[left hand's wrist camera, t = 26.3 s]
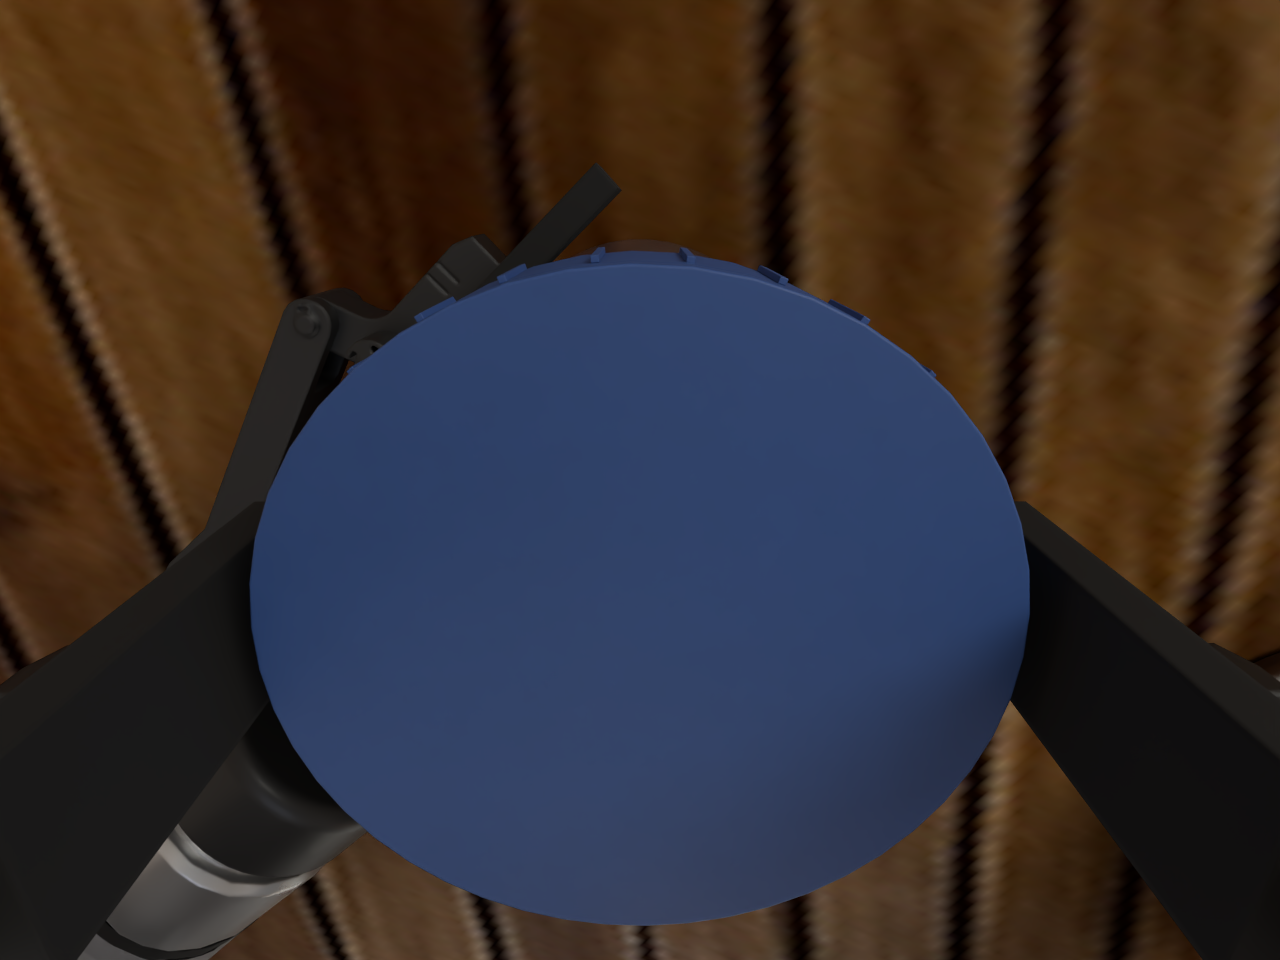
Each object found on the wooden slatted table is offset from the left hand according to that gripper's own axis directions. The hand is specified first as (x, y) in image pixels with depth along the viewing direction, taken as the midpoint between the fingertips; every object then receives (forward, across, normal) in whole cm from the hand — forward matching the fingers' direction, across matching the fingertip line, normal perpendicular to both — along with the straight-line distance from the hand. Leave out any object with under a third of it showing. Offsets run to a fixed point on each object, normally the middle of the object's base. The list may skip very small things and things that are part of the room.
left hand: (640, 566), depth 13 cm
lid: (-3, 0, 0) cm, 3 cm away
